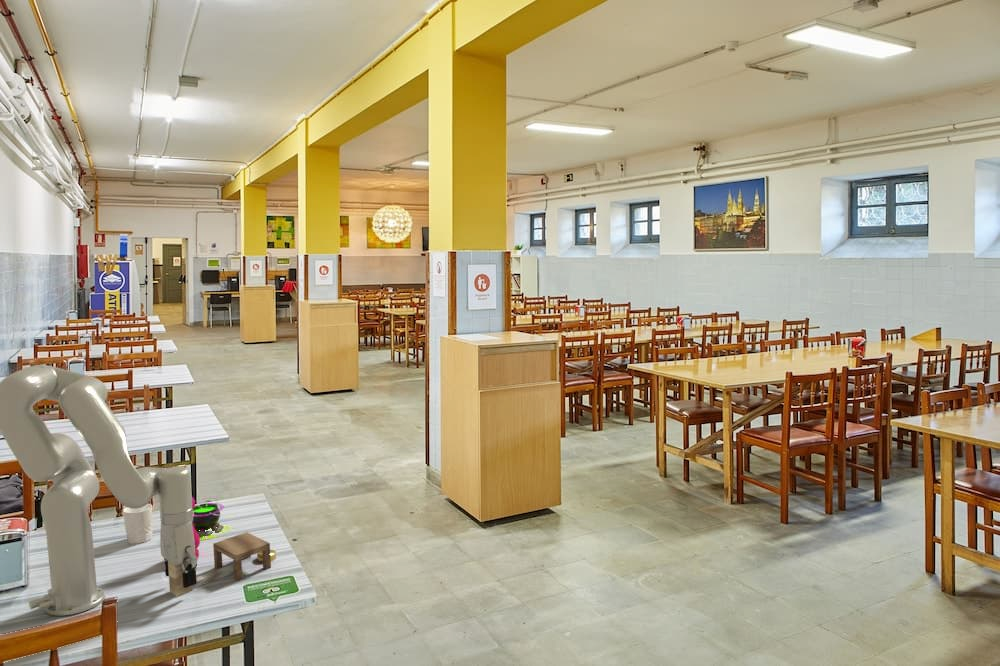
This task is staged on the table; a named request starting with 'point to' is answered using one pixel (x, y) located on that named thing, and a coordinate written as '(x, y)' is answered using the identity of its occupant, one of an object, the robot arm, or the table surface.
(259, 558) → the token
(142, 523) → the white cup
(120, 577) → the table surface
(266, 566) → the small wooden table
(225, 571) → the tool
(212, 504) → the toy cauldron
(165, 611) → the table surface
